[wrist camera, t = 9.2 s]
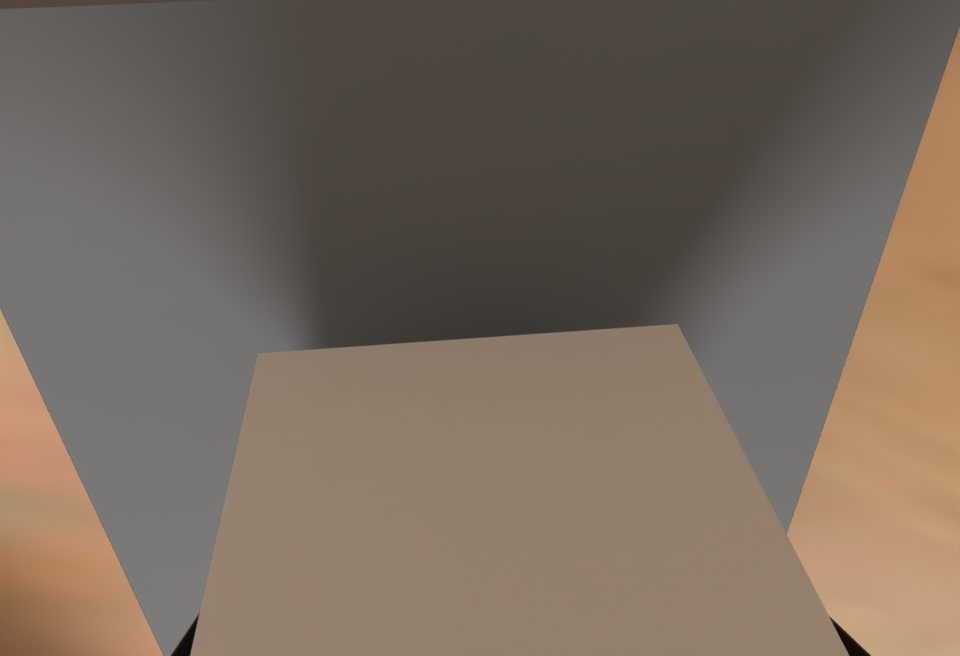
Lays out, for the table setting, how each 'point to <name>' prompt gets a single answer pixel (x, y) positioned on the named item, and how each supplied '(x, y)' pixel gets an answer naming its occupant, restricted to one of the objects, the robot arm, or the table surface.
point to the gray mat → (433, 209)
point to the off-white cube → (500, 508)
